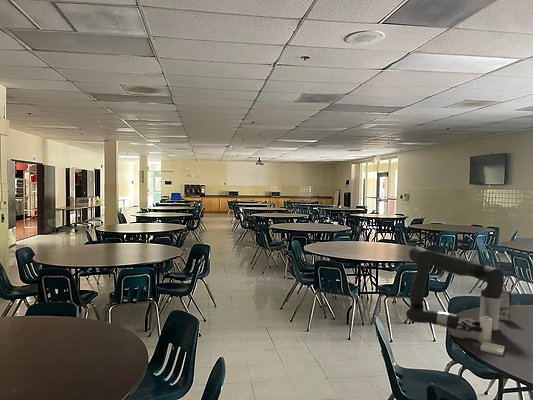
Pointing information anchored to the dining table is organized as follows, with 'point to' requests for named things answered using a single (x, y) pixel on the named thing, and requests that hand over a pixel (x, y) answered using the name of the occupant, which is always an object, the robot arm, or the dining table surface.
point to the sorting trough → (492, 348)
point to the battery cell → (485, 329)
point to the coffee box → (505, 305)
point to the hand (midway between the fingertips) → (483, 327)
